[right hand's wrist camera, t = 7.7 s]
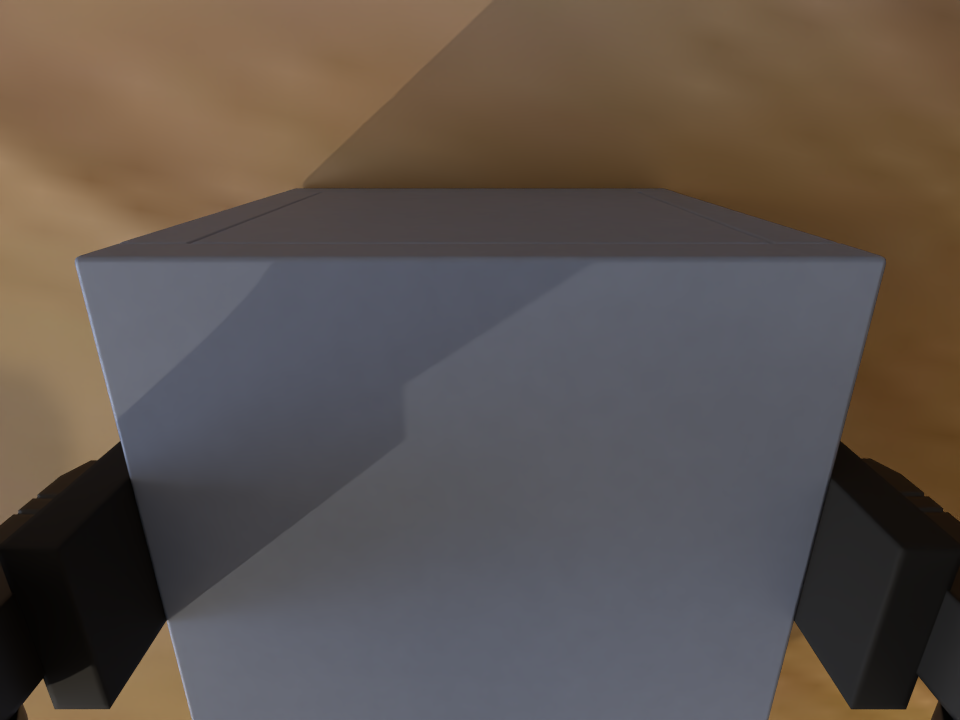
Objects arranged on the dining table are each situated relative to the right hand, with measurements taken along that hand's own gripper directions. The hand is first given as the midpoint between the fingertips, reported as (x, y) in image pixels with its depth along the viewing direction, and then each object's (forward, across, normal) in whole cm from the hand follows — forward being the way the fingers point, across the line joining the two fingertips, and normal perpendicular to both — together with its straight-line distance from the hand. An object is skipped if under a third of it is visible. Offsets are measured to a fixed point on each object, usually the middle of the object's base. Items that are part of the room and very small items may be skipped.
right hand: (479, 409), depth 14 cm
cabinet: (+4, 0, -4) cm, 6 cm away
